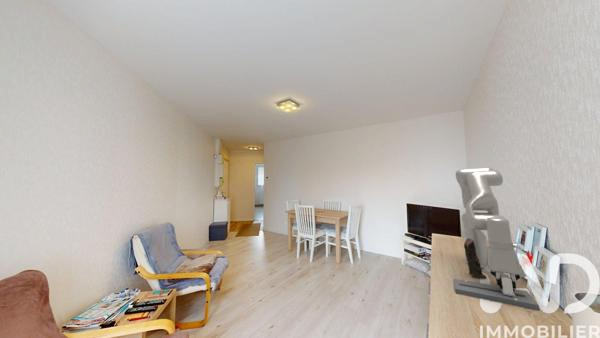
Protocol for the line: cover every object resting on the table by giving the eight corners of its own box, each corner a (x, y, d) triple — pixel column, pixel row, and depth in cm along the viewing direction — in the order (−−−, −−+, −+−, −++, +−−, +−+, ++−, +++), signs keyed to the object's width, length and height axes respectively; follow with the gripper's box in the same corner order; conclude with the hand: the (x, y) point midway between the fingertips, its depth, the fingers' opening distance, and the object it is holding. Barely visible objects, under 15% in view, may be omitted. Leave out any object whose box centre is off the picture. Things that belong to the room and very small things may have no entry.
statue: (487, 279, 103) (482, 240, 105) (472, 278, 105) (467, 239, 106) (478, 273, 110) (473, 236, 112) (464, 273, 111) (459, 236, 113)
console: (455, 293, 92) (455, 288, 92) (453, 282, 102) (453, 277, 102) (539, 310, 77) (538, 304, 77) (527, 295, 87) (527, 290, 87)
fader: (503, 294, 85) (501, 278, 85) (499, 287, 90) (497, 272, 91) (515, 296, 83) (513, 280, 83) (510, 289, 88) (508, 273, 89)
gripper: (524, 245, 87) (530, 289, 85) (475, 241, 96) (480, 280, 94) (530, 250, 81) (538, 298, 79) (477, 245, 90) (483, 287, 88)
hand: (506, 288), depth 87 cm, fingers closed on fader, 3 cm apart
